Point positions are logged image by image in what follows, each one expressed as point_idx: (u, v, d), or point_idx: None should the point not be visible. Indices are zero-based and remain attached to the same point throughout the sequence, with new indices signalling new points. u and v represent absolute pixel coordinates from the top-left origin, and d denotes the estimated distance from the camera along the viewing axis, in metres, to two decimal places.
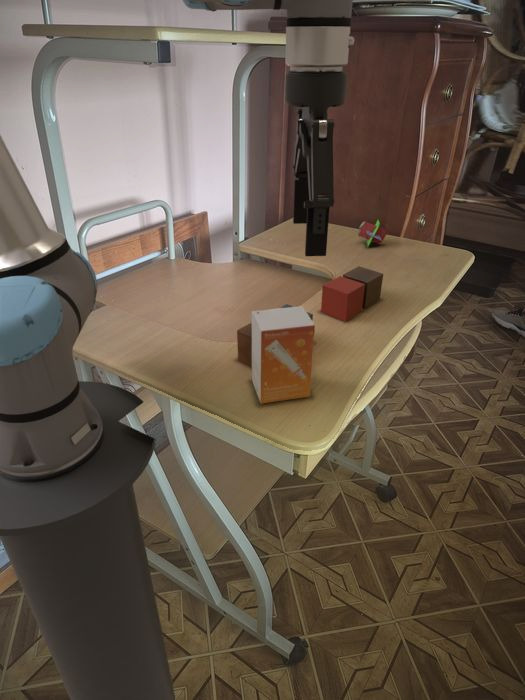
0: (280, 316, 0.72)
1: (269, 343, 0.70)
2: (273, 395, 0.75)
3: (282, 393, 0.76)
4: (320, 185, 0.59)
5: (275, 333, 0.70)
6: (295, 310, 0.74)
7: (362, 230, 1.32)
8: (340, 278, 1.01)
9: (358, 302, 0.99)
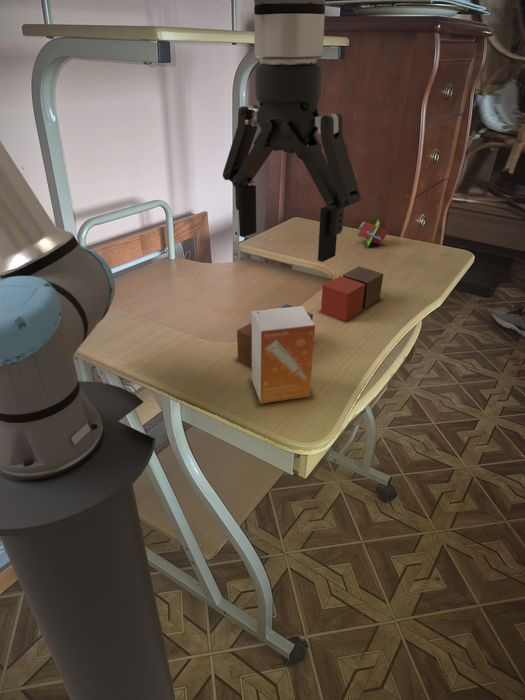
0: (280, 316, 0.72)
1: (269, 343, 0.70)
2: (273, 395, 0.75)
3: (282, 393, 0.76)
4: (348, 183, 0.56)
5: (275, 333, 0.70)
6: (295, 310, 0.74)
7: (362, 230, 1.32)
8: (340, 278, 1.01)
9: (358, 302, 0.99)
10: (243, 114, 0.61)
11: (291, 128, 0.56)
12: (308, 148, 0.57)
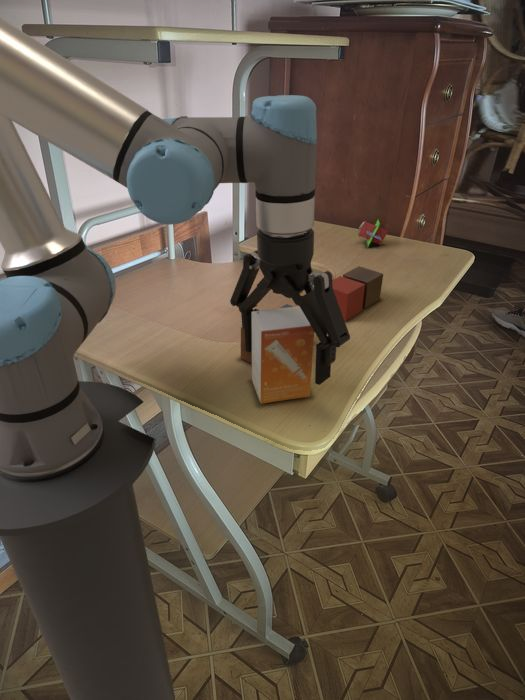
0: (280, 316, 0.72)
1: (269, 343, 0.70)
2: (273, 395, 0.75)
3: (282, 393, 0.76)
4: (338, 328, 0.66)
5: (275, 334, 0.70)
6: (295, 310, 0.74)
7: (362, 230, 1.32)
8: (340, 278, 1.01)
9: (358, 302, 0.99)
10: (247, 261, 0.71)
11: (289, 282, 0.66)
12: (304, 297, 0.67)
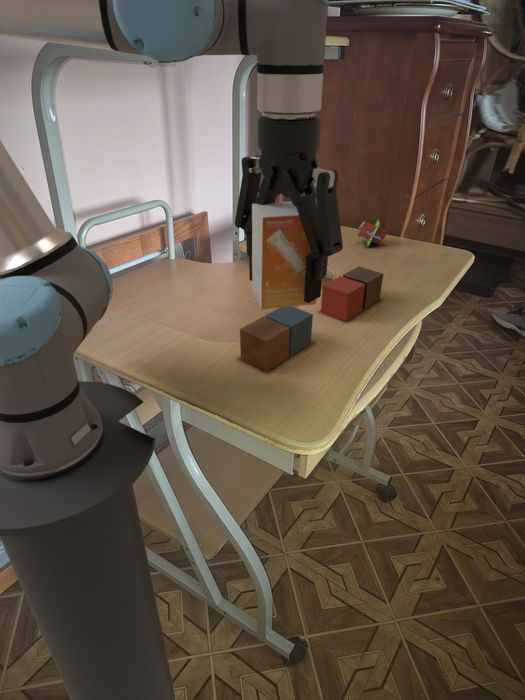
0: (284, 206, 0.65)
1: (271, 232, 0.62)
2: (275, 300, 0.68)
3: (285, 297, 0.68)
4: (333, 235, 0.61)
5: (279, 221, 0.62)
6: None
7: (362, 230, 1.32)
8: (340, 278, 1.01)
9: (358, 302, 0.99)
10: (246, 164, 0.64)
11: (290, 177, 0.60)
12: (303, 197, 0.61)
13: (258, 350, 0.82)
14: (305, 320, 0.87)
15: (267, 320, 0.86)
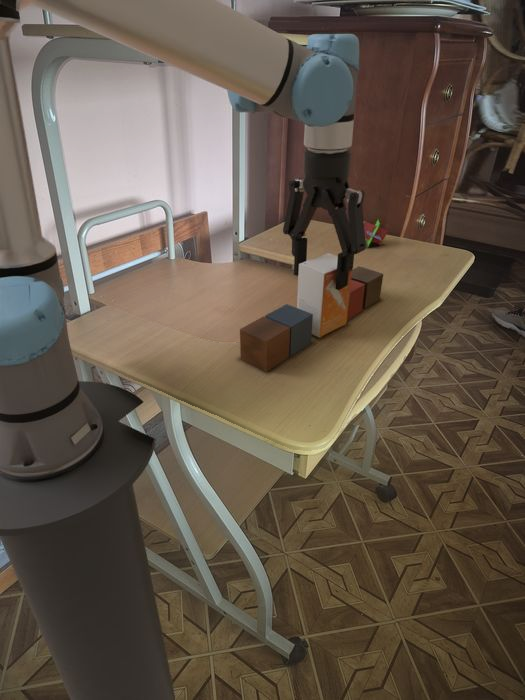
0: (323, 262, 0.90)
1: (328, 282, 0.87)
2: (327, 328, 0.93)
3: (332, 324, 0.93)
4: (359, 238, 0.81)
5: (332, 274, 0.87)
6: (328, 256, 0.92)
7: None
8: None
9: (358, 302, 0.99)
10: (293, 185, 0.85)
11: (329, 195, 0.80)
12: (337, 210, 0.81)
13: (258, 350, 0.82)
14: (305, 320, 0.87)
15: (267, 320, 0.86)
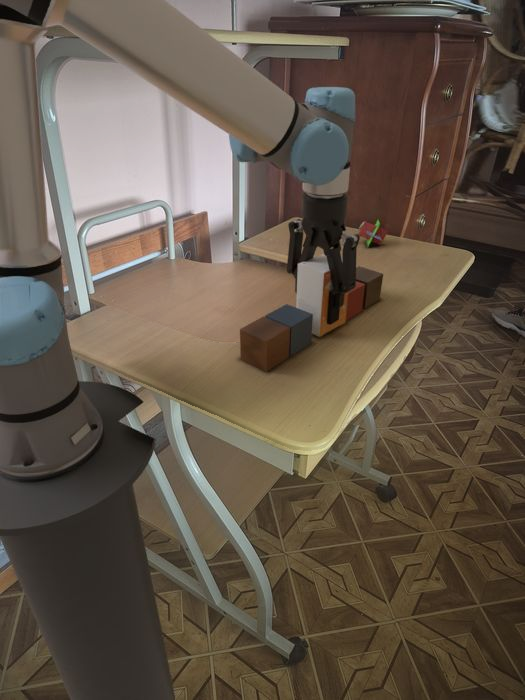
0: (322, 261, 0.90)
1: (327, 282, 0.87)
2: (326, 327, 0.93)
3: None
4: (350, 279, 0.86)
5: None
6: None
7: (362, 230, 1.32)
8: None
9: (358, 302, 0.99)
10: (292, 226, 0.89)
11: (326, 237, 0.84)
12: (332, 251, 0.85)
13: (258, 350, 0.82)
14: (305, 320, 0.87)
15: (267, 320, 0.86)
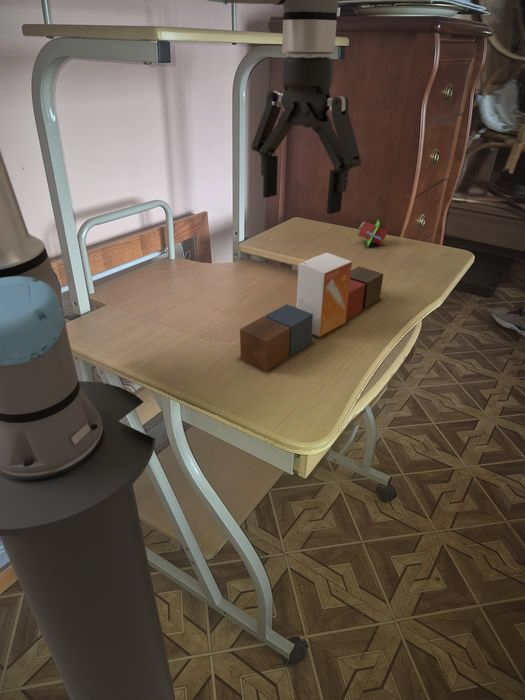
0: (323, 261, 0.90)
1: (328, 282, 0.87)
2: (326, 328, 0.93)
3: (331, 324, 0.94)
4: (352, 149, 0.73)
5: (332, 273, 0.87)
6: (326, 256, 0.92)
7: (362, 230, 1.32)
8: None
9: (358, 302, 0.99)
10: (270, 97, 0.78)
11: (309, 107, 0.73)
12: (321, 123, 0.74)
13: (258, 350, 0.82)
14: (305, 320, 0.87)
15: (267, 320, 0.86)
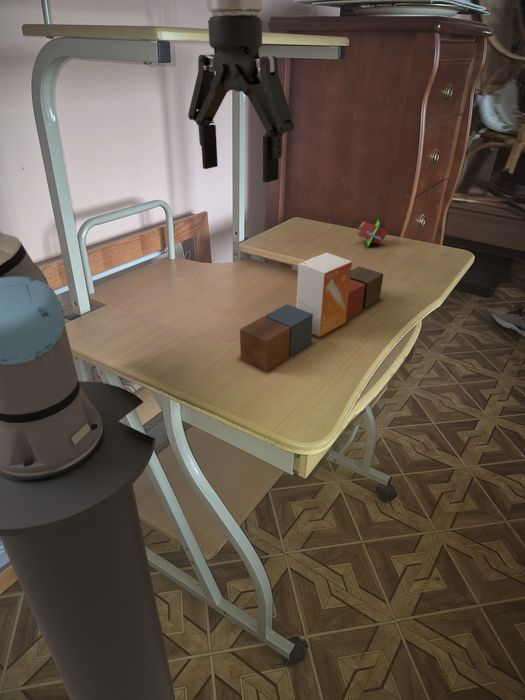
0: (323, 261, 0.90)
1: (328, 282, 0.87)
2: (326, 328, 0.93)
3: (331, 324, 0.94)
4: (282, 112, 0.70)
5: (332, 273, 0.87)
6: (326, 256, 0.92)
7: (362, 230, 1.32)
8: None
9: (358, 302, 0.99)
10: (202, 61, 0.75)
11: (238, 69, 0.70)
12: (252, 86, 0.71)
13: (258, 350, 0.82)
14: (305, 320, 0.87)
15: (267, 320, 0.86)
